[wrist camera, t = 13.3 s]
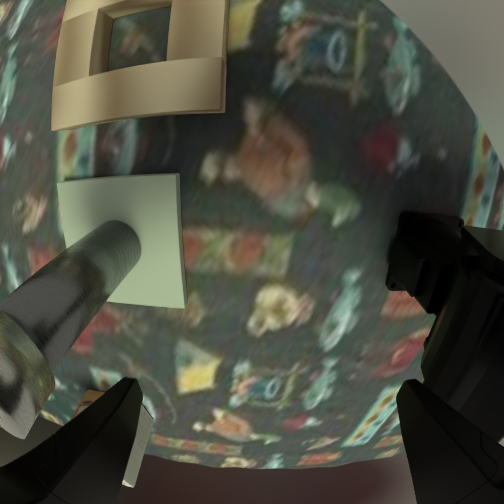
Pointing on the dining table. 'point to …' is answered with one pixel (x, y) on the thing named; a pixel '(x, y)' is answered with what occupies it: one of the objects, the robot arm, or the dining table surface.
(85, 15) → the socket block
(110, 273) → the dome-ended metal peg
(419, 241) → the robot arm
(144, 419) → the small box
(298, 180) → the dining table surface
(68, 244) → the pad
